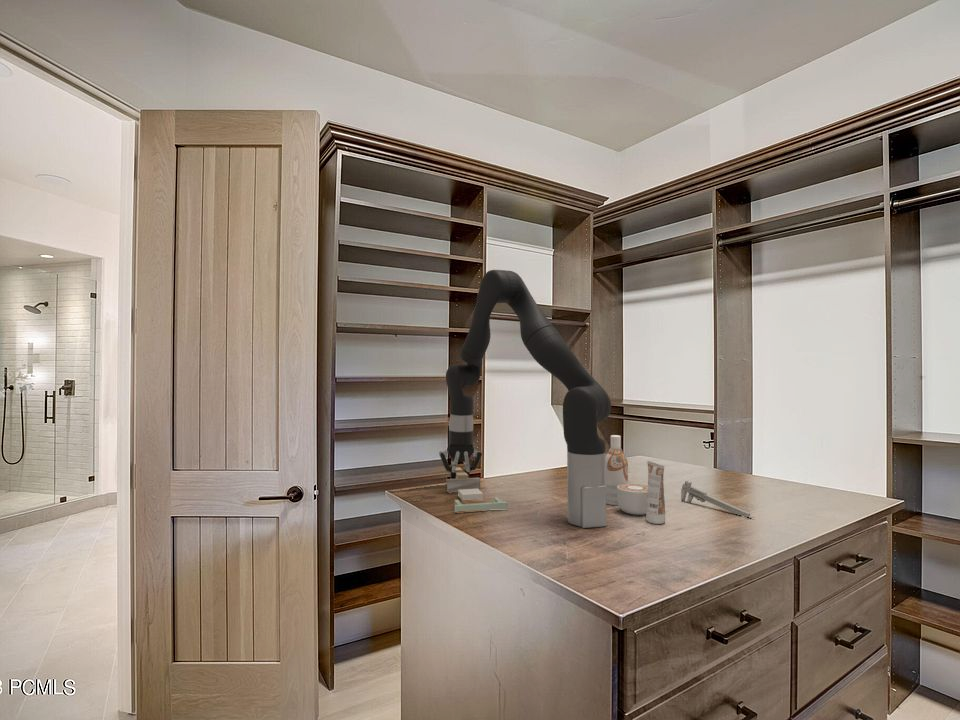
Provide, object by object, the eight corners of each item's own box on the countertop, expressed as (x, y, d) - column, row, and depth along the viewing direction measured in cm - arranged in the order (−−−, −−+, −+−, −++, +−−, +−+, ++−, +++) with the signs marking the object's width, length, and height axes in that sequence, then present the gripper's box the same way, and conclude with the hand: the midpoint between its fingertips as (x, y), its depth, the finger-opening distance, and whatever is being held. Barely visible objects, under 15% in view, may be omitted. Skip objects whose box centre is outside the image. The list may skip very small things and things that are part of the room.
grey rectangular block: (480, 491, 158) (480, 475, 158) (447, 493, 155) (448, 476, 155) (469, 481, 170) (469, 466, 170) (439, 483, 167) (439, 468, 167)
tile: (483, 502, 147) (483, 493, 147) (462, 503, 146) (462, 494, 146) (477, 496, 153) (477, 488, 153) (457, 498, 151) (457, 489, 151)
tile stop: (507, 510, 138) (507, 502, 138) (455, 513, 135) (455, 506, 135) (500, 504, 144) (500, 496, 144) (451, 507, 140) (451, 500, 140)
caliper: (681, 502, 146) (680, 480, 146) (683, 501, 147) (683, 479, 147) (752, 520, 129) (752, 495, 129) (755, 519, 130) (754, 494, 130)
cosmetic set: (680, 525, 125) (680, 447, 125) (647, 528, 123) (647, 448, 123) (624, 499, 149) (623, 433, 149) (595, 501, 147) (595, 434, 147)
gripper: (440, 431, 156) (439, 488, 157) (486, 430, 159) (484, 486, 160) (436, 426, 163) (435, 481, 164) (480, 426, 167) (478, 479, 167)
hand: (459, 483), depth 162 cm, fingers closed on grey rectangular block, 3 cm apart
